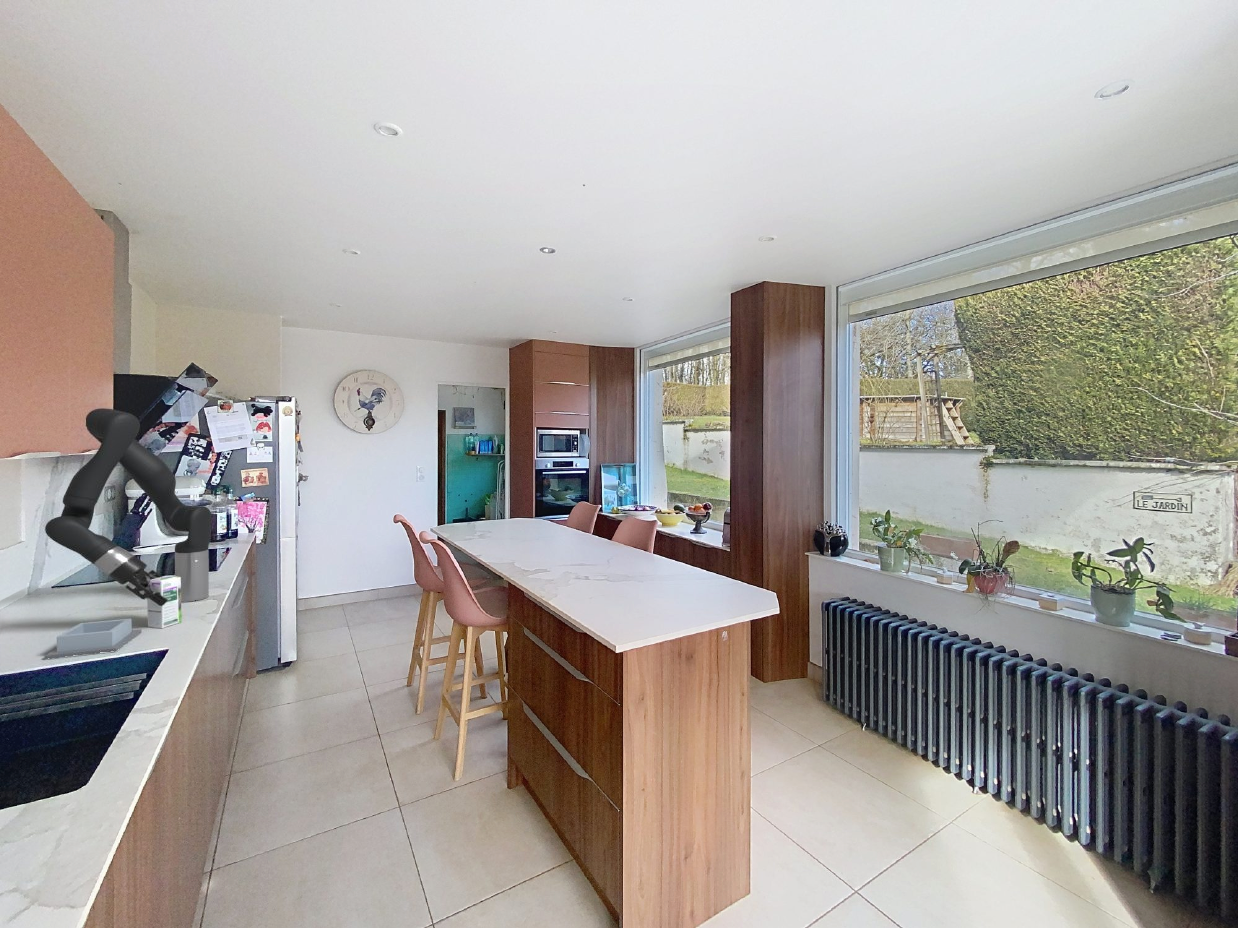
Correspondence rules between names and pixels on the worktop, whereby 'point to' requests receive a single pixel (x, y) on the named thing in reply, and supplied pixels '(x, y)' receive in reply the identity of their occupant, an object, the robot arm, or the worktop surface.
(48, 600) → the worktop surface
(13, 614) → the worktop surface
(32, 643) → the worktop surface
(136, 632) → the holder
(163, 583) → the syrup box
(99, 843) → the worktop surface
